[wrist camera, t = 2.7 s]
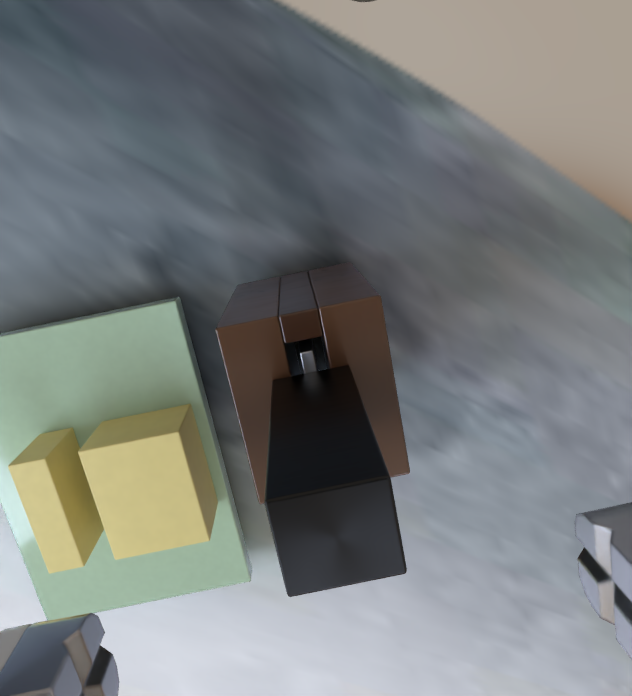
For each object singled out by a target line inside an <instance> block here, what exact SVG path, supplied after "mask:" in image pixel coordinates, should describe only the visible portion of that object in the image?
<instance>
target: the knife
mask: <svg viewBox="0 0 632 696" xmlns="http://www.w3.org/2000/svg"><path fill="white" fill-rule="evenodd" d="M299 348H300V356H301V361H302V366H303V370H304V374H301V375H296V376H291V377H286V378H281V379H276V380H273V381H272V393H271V408H270V423H269V439H268V454H267V469H266V484H265V499H264V504H265V508H266V512H267V516H268V520H269V524H270V528H271V532H272V536H273V540H274V544H275V548H276V552H277V556H278V560H279V564H280V568H281V572H282V576H283V580H284V584H285V588H286V592H287V594H288V596H289V597H292V596H297V595H302V594H307V593H312V592H317V591H322V590H327V589H332V588H337V587H342V586H347V585H352V584H356V583H361V582H366V581H371V580H376V579H381V578H386V577H391V576H396V575H401V574H405V573H406V570H407V568H406V563H405V557H404V551H403V546H402V540H401V534H400V529H399V523H398V517H397V512H396V506H395V501H394V495H393V489H392V484H391V478H390V475H389V472H388V469H387V467H386V464H385V461H384V458H383V456H382V453H381V450H380V448H379V445H378V442H377V439H376V437H375V434H374V431H373V429H372V426H371V423H370V420H369V418H368V415H367V412H366V409H365V407H364V404H363V401H362V399H361V396H360V393H359V390H358V388H357V385H356V382H355V379H354V377H353V374H352V371H351V369H350V366H349V365H345V366H340V367H335V368H330V369H325V370H320V371H318V366H317V361H316V356H315V351H314V346H313V341H312V338H311V339H306V340H301V341H299Z"/></svg>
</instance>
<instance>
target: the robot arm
mask: <svg viewBox="0 0 632 696" xmlns="http://www.w3.org/2000/svg"><path fill="white" fill-rule="evenodd" d="M575 536H576V537H577V538H578V540H579V541H580V542H581V543H582V544H583V546H584V549H583V550H582V552H581V554H580V555H579V557H578V559H577V561H578V569H579V577H580V580H581V583H582V586H583V589H584V592H585V595H586V596H587V598H588V600H589V602H590V604H591V606H592V607H593V609H594V610H595V612H596V613H597V614H598V616H599V617H600V618H601V619H603V620H605V621H607V622H609V623H611V624H613V625H615V630H616V640H617V641H618V642H619V644H620V645H621V646H622V648H623V649H624V650H625V652H626V653H627V654H628V656H629V657H630V658H631V660H632V502H631V503H626V504H621V505H617V506H612V507H607V508H603V509H598V510H593V511H589V512H584V513H579V514H576V518H575ZM104 633H105V632H104V629H103V627H102V624H101V622H100V619H99V617H98V616H97V615H95V614H93V613H88V614H82V615H77V616H71V617H66V618H60V619H55V620H49V621H44V622H38V623H34V624H28V625H23V626H18V627H13V628H8V629H4V630H3V631H1V632H0V696H118V690H119V677H118V671H117V665H116V662H115V660H114V657H113V654H112V653H110V652H109V651H107V650H106V649H105V648H103V647H102V646H100V643H101V641H102V638H103V636H104Z"/></svg>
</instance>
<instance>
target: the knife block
mask: <svg viewBox="0 0 632 696" xmlns="http://www.w3.org/2000/svg"><path fill="white" fill-rule="evenodd" d="M216 334H217V338H218V342H219V346H220V350H221V354H222V358H223V362H224V366H225V370H226V374H227V378H228V382H229V386H230V389H231V393H232V397H233V401H234V405H235V409H236V413H237V417H238V421H239V425H240V429H241V433H242V437H243V441H244V445H245V449H246V453H247V457H248V461H249V465H250V469H251V472H252V476H253V480H254V484H255V488H256V492H257V496H258V500H259V503H260V504H264V499H265V484H266V469H267V454H268V439H269V423H270V408H271V393H272V381H273V380H276V379H281V378H286V377H291V376H296V375H301V371H300V367H299V362H298V357H297V353H296V348H295V343H294V342H296V341H301V340H306V339H311V338H316V337H321V340H322V345H323V350H324V355H325V360H326V365H327V369H330V368H335V367H340V366H345V365H349V366H350V369H351V371H352V374H353V377H354V379H355V382H356V385H357V388H358V390H359V393H360V396H361V399H362V401H363V404H364V407H365V409H366V412H367V415H368V418H369V420H370V423H371V426H372V429H373V431H374V434H375V437H376V439H377V442H378V445H379V448H380V450H381V453H382V456H383V458H384V461H385V464H386V467H387V469H388V472H389V475H390V477H395V476H400V475H405V474H409V473H410V468H409V462H408V456H407V450H406V444H405V438H404V432H403V426H402V420H401V414H400V408H399V402H398V396H397V390H396V384H395V378H394V372H393V366H392V360H391V354H390V348H389V342H388V336H387V330H386V324H385V318H384V312H383V306H382V300H381V296H380V295H379V294H378V293H377V291H376V290H375V289H374V288H373V287H372V286H371V285H370V284H369V283H368V281H367V280H366V279H365V278H364V277H363V276H362V275H361V274H360V273H359V271H358V270H357V269H356V268H355V267H354V266H353V265H352V264H351V263H350V262H348V263H343V264H338V265H333V266H328V267H323V268H318V269H314V270H309V271H308V272H307V271H304V272H299V273H294V274H289V275H284V276H281V278H280V277H274V278H269V279H264V280H259V281H254V282H249V283H244V284H239V285H237V287H236V289H235V291H234V293H233V295H232V297H231V299H230V301H229V303H228V305H227V307H226V309H225V311H224V313H223V315H222V317H221V319H220V321H219V323H218V325H217V327H216Z"/></svg>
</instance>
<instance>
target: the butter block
mask: <svg viewBox="0 0 632 696" xmlns="http://www.w3.org/2000/svg"><path fill="white" fill-rule="evenodd" d="M78 454H79V457H80V460H81V463H82V466H83V468H84V471H85V474H86V477H87V480H88V483H89V486H90V489H91V492H92V495H93V497H94V500H95V503H96V506H97V509H98V512H99V515H100V518H101V521H102V524H103V527H104V529H105V532H106V535H107V538H108V541H109V544H110V547H111V550H112V553H113V556H114V559H115V560H119V559H123V558H128V557H133V556H138V555H143V554H148V553H153V552H158V551H163V550H168V549H173V548H178V547H183V546H188V545H193V544H197V543H202V542H207V541H210V538H211V534H212V529H213V524H214V519H215V515H216V510H217V505H218V500H217V496H216V492H215V489H214V485H213V482H212V478H211V474H210V471H209V467H208V463H207V460H206V456H205V453H204V449H203V445H202V442H201V438H200V434H199V431H198V427H197V424H196V420H195V416H194V413H193V409H192V405H191V404H186V405H181V406H176V407H171V408H166V409H162V410H157V411H152V412H147V413H142V414H137V415H132V416H127V417H122V418H117V419H112V420H107V421H103V422H101V423H100V425H99V426H98V427H97V428H96V430H95V431H94V432H93V433H92V435H91V436H90V437H89V438H88V440H87V441H86V442H85V444H84V445H83V446H82V447H81V449H80V450H79V451H78Z"/></svg>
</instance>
